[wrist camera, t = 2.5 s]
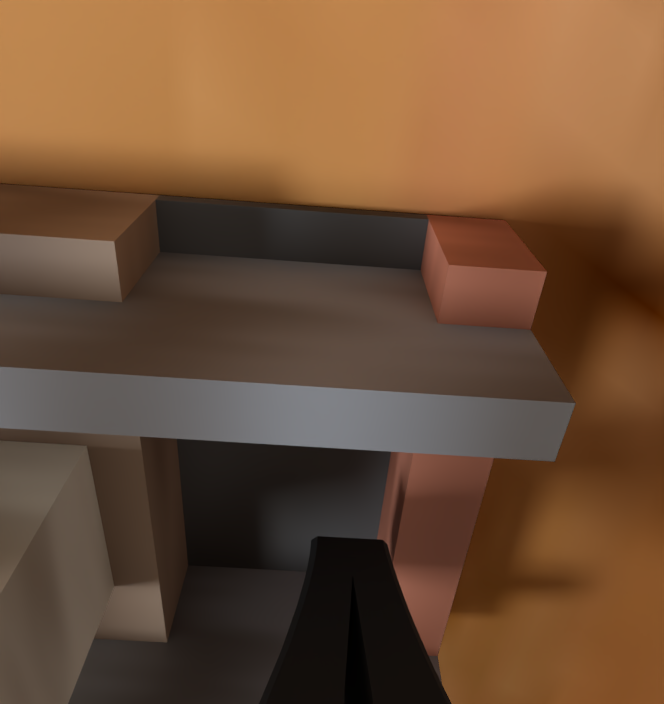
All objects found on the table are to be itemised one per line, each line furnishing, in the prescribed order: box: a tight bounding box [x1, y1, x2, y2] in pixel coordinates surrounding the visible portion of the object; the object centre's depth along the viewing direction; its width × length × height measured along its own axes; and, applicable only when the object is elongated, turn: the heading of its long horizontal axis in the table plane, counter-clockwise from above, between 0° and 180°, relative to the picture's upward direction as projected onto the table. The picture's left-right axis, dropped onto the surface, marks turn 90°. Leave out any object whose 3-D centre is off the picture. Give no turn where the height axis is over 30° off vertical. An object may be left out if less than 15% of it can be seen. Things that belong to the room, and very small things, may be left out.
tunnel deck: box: [0, 184, 576, 704], centre depth 12 cm, size 18×12×4 cm, turn 86°
